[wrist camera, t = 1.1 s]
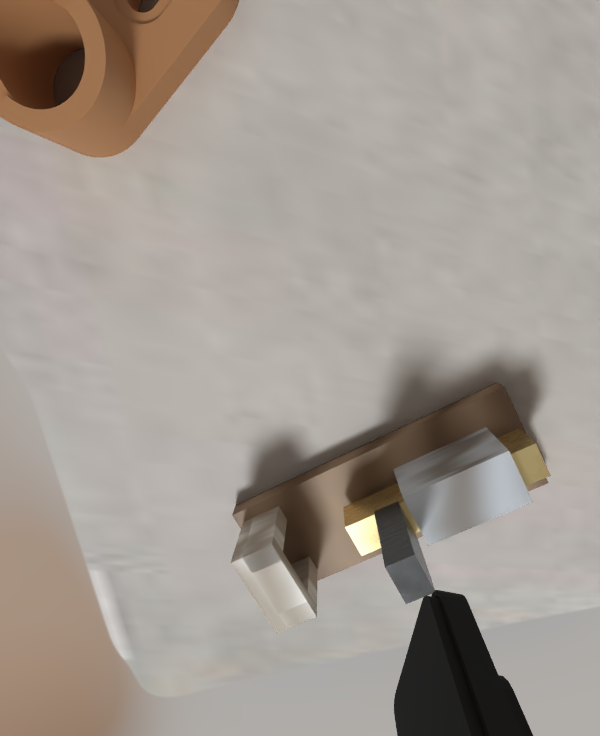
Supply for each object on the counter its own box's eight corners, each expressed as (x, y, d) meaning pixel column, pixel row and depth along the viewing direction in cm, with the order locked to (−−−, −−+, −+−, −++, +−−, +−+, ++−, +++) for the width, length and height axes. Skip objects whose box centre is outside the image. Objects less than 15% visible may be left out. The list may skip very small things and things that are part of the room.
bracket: (104, 182, 33) (49, 162, 26) (16, 97, 32) (-65, 54, 25) (268, -25, 29) (252, -109, 23) (175, -129, 28) (129, -250, 22)
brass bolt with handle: (518, 427, 33) (584, 483, 25) (533, 459, 34) (602, 525, 26) (342, 506, 36) (348, 582, 27) (359, 534, 36) (370, 618, 28)
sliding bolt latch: (497, 382, 35) (537, 410, 29) (539, 473, 37) (585, 520, 30) (235, 505, 39) (218, 555, 32) (284, 583, 41) (277, 644, 34)
